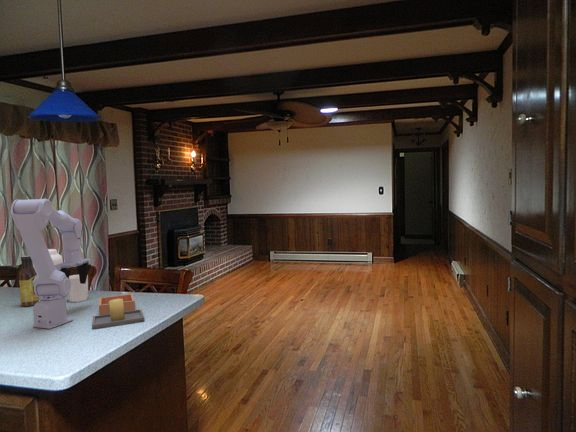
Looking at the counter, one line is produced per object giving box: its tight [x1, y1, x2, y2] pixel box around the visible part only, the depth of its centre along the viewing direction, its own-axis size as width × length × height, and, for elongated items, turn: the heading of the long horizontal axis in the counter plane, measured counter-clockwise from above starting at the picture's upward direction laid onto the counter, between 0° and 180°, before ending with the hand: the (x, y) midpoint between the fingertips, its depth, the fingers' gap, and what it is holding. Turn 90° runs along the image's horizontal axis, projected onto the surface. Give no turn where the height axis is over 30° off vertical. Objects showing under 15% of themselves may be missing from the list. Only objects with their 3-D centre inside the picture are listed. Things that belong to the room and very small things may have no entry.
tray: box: [91, 309, 145, 330], centre depth 142 cm, size 11×16×1 cm
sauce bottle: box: [18, 255, 40, 307], centre depth 167 cm, size 7×6×20 cm
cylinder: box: [109, 299, 125, 321], centre depth 142 cm, size 4×4×6 cm
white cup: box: [68, 274, 89, 303], centre depth 172 cm, size 8×8×10 cm
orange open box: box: [98, 293, 136, 315], centre depth 156 cm, size 12×12×4 cm
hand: (74, 285), depth 156 cm, fingers open, 7 cm apart
